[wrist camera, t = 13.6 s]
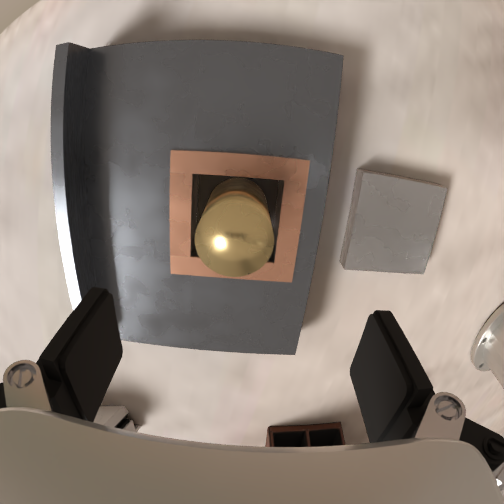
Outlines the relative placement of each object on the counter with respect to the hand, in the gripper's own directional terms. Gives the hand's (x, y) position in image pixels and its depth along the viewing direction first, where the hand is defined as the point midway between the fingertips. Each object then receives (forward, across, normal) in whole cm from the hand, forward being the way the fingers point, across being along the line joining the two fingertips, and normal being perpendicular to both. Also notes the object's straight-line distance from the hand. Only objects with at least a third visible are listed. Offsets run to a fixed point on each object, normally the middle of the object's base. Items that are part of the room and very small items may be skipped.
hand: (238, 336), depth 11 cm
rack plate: (+15, +4, 0) cm, 15 cm away
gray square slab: (+15, -12, 0) cm, 19 cm away
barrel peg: (+15, +1, 0) cm, 15 cm away
